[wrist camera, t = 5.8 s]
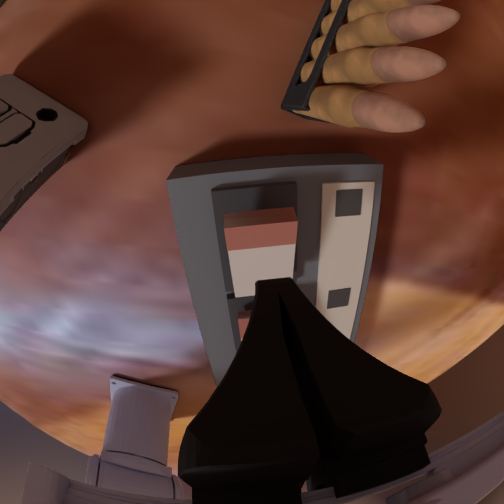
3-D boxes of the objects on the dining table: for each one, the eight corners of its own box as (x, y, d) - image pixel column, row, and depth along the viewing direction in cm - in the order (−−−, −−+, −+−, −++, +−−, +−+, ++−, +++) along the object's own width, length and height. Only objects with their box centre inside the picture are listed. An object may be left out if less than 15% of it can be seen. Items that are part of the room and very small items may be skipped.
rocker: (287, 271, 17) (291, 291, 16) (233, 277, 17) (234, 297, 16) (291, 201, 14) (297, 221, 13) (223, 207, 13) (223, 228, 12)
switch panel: (333, 365, 29) (342, 391, 26) (222, 380, 28) (223, 408, 25) (362, 152, 17) (387, 166, 14) (175, 166, 17) (164, 182, 14)
